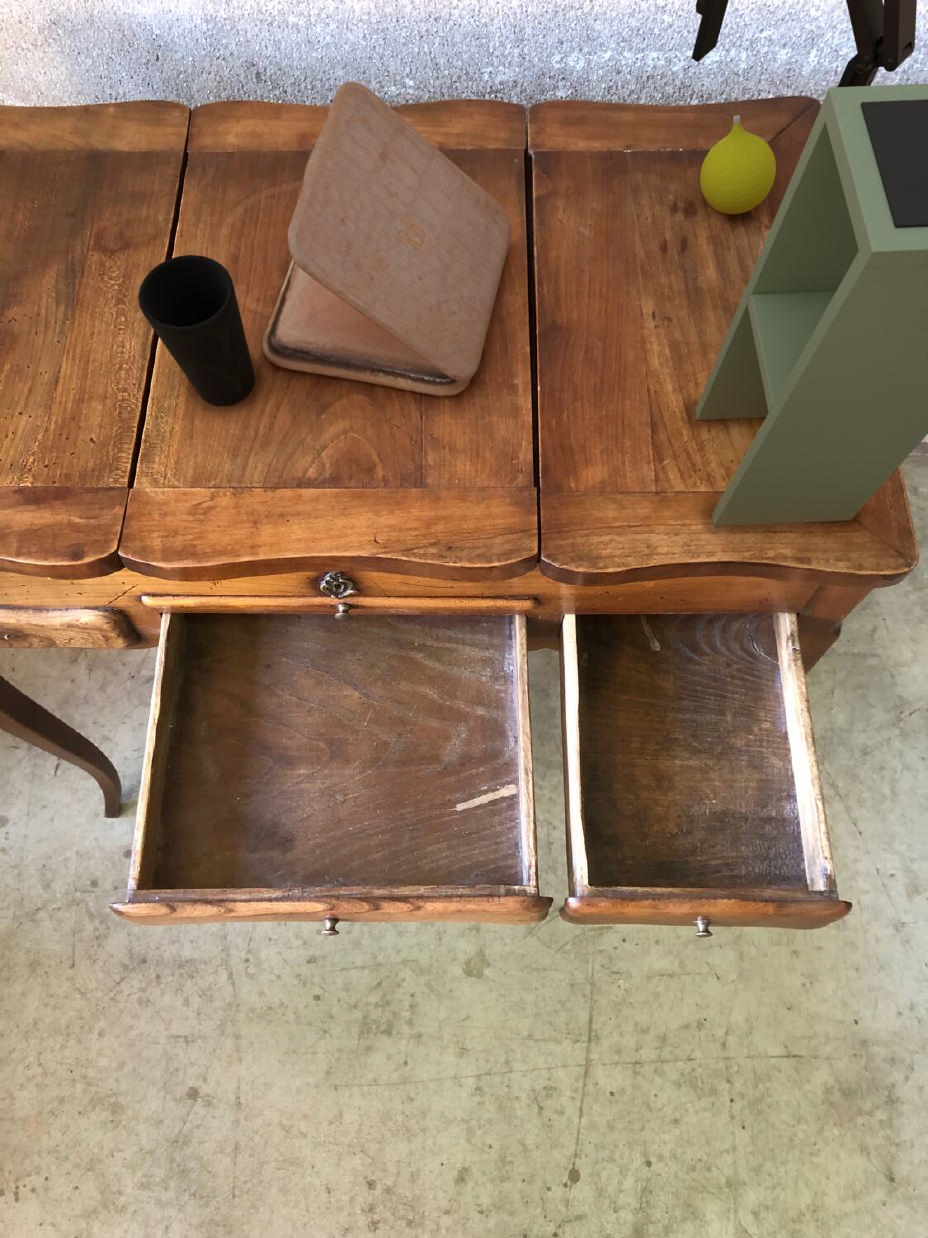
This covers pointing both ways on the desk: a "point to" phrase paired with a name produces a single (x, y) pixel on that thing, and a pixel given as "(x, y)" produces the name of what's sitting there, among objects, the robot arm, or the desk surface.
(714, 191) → the ornament
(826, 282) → the shelf
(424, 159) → the case
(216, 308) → the cup
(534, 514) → the desk surface
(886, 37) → the robot arm
